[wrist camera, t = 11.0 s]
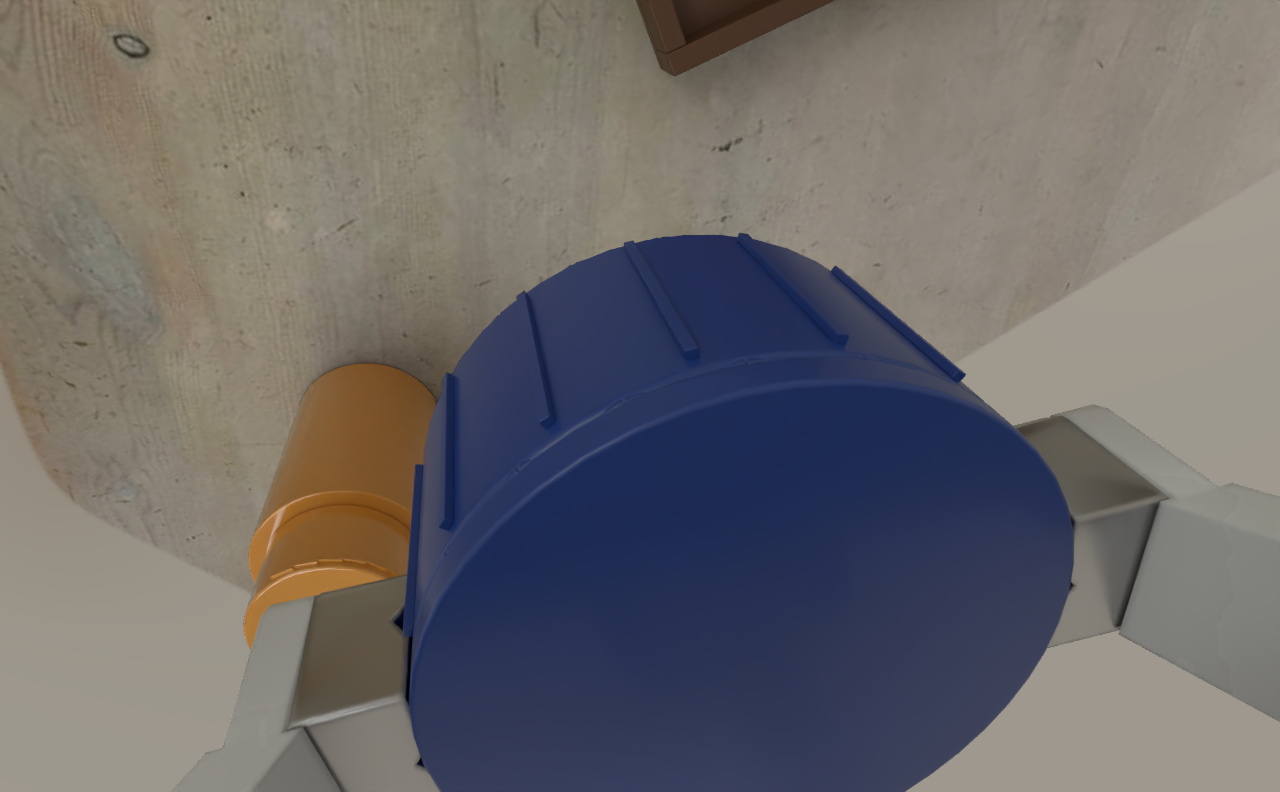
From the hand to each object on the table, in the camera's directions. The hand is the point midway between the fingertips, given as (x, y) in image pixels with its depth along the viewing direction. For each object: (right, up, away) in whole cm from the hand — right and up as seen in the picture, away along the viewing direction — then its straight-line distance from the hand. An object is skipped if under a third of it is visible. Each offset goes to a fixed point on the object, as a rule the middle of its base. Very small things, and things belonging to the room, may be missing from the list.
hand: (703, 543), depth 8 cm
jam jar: (-13, 0, +25) cm, 28 cm away
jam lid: (0, +1, +1) cm, 1 cm away
